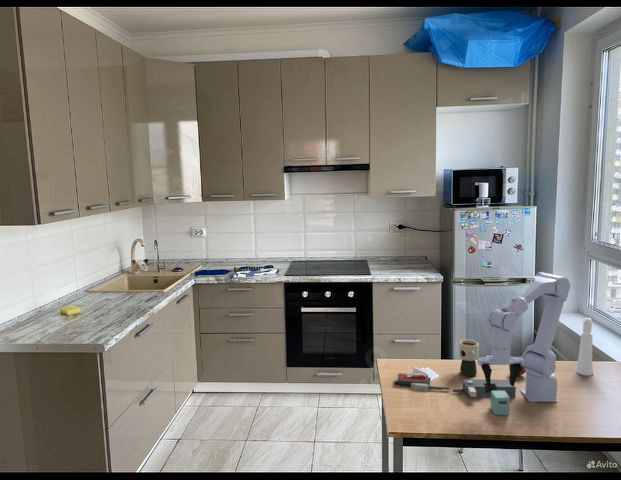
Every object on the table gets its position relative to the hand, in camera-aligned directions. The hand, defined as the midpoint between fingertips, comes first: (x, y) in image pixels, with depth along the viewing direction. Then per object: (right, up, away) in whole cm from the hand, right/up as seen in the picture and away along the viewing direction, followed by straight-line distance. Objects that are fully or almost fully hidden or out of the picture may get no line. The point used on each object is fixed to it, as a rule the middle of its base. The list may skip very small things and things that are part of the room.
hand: (499, 385), depth 154 cm
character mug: (-1, -5, +29) cm, 29 cm away
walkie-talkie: (-21, -7, +21) cm, 30 cm away
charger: (0, -9, 0) cm, 9 cm away
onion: (+18, -5, +26) cm, 32 cm away
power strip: (-1, -7, +13) cm, 15 cm away
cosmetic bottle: (+44, -4, +27) cm, 52 cm away
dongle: (-6, -6, +9) cm, 13 cm away
